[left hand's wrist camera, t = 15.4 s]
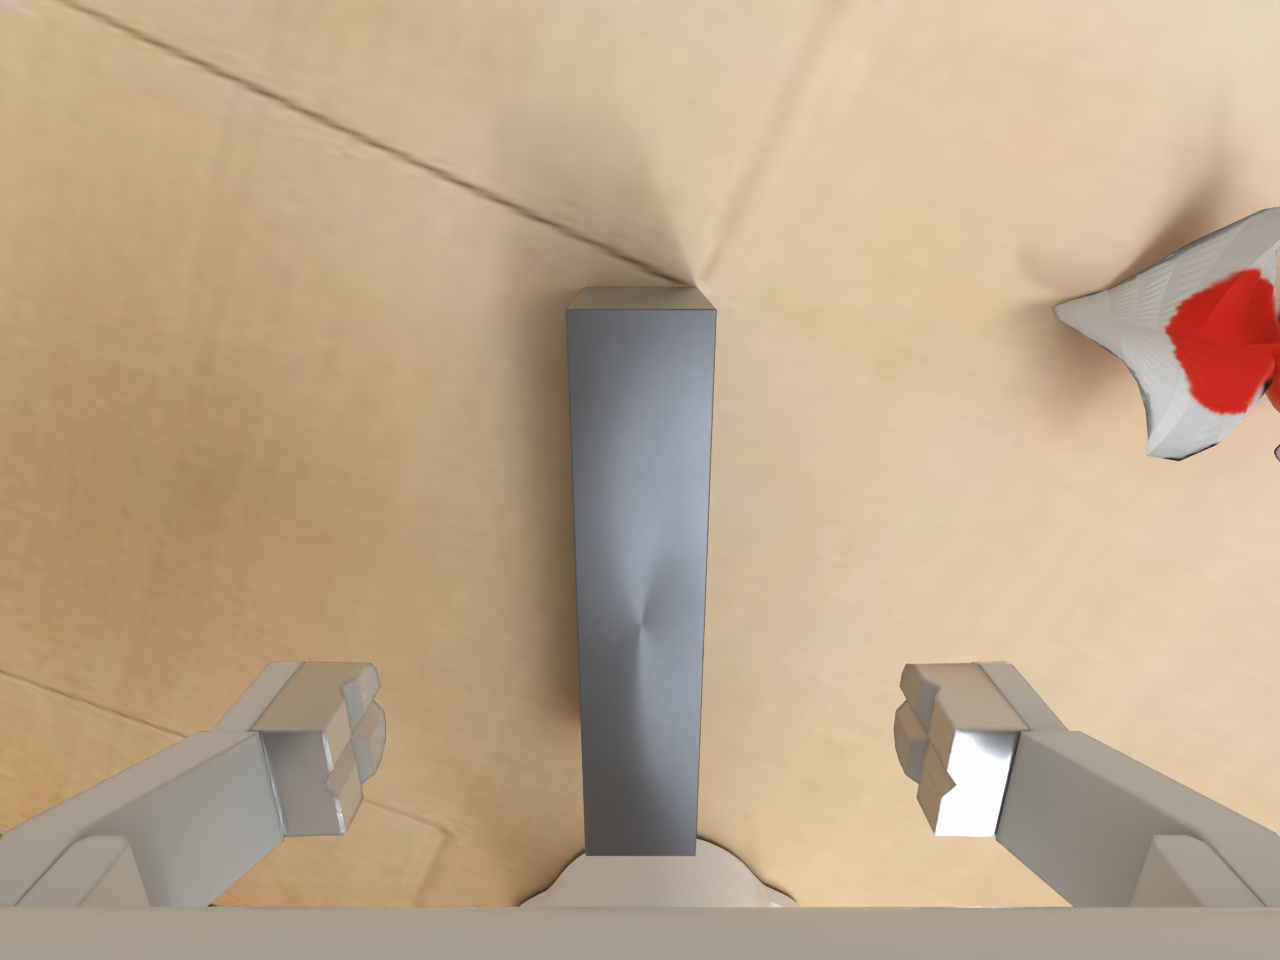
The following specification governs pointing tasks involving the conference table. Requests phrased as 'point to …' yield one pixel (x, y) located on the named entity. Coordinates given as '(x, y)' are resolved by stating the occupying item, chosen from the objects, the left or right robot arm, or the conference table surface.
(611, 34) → the conference table surface
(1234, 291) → the fish
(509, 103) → the conference table surface
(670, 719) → the bar
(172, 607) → the conference table surface
